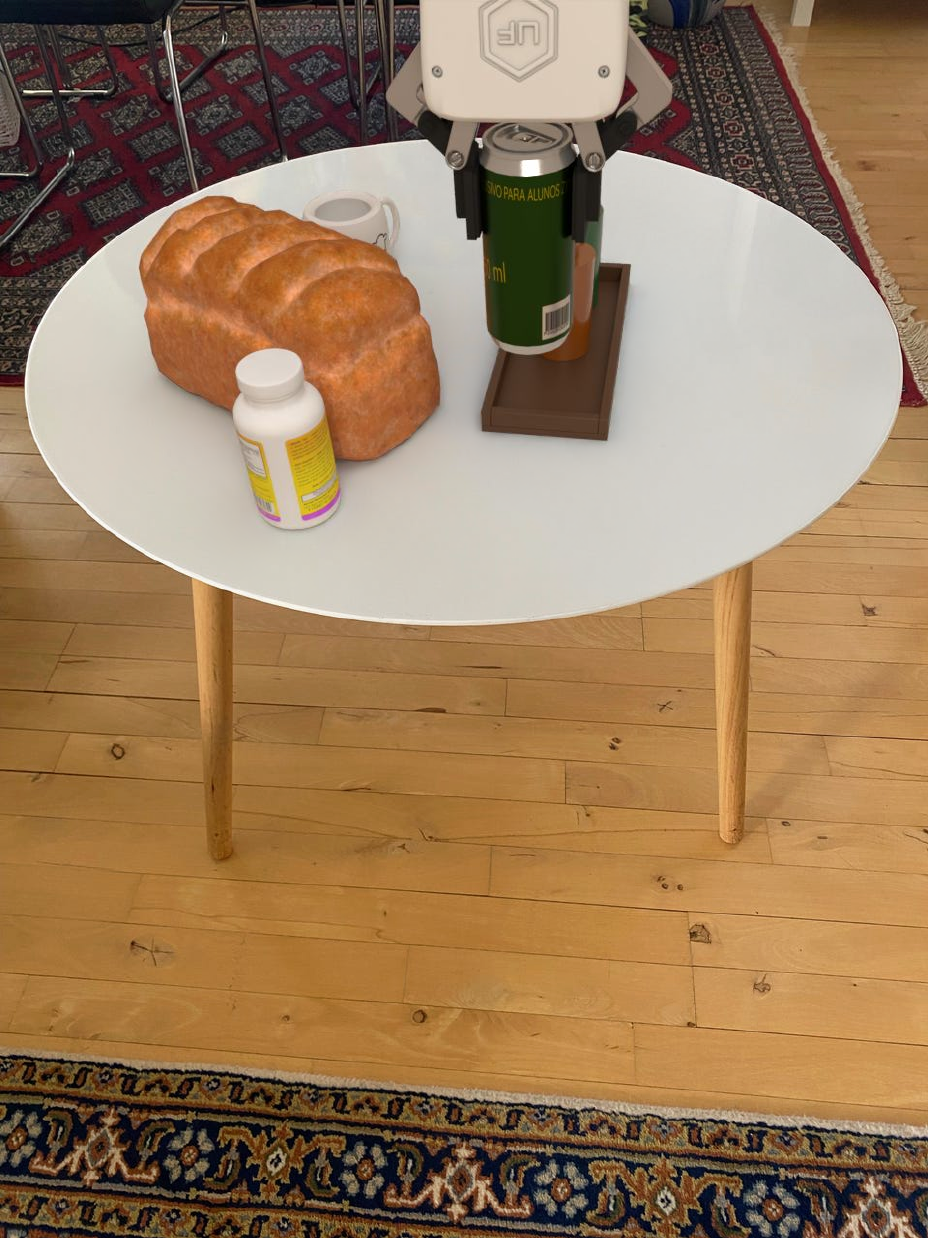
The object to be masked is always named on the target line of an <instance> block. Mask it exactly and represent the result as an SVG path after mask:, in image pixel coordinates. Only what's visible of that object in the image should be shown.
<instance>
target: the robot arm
mask: <svg viewBox="0 0 928 1238" xmlns="http://www.w3.org/2000/svg"><path fill="white" fill-rule="evenodd" d="M419 22H420V23H419V27H420V29H419V31H420V40H419V41H418V43H417V45H416V46H415V47H414V49H413V51H412V52H411V53H410V55H409V57H408V58H407V59H406V61H405V62H404V64H403V65H402V67H401V68H400V70H399V71H398V73H397V74H396V76H395V77H394V79H393V80H392V82H391V83H390V85H389V86H388V88H387V90H386V92H385V99H386V102H387V103H388V104H389V106H391V107H392V108H394V110H395V111H397V112H398V113H399V115H401V116H402V117H403V118H405V119H406V120H407V121H409V123H410V124H413V125H415V126H416V127H417V129H418V131H419V133H420V134H421V135H422V136H423V137H424V138H425V139H426V140H427V141H428V142H429V143H430V144H431V146H433V147H434V148H435V149H436V150H437V151H438V152H439V153H440V154H441V155H442V156H443V157H444V161H445V164H446V165H447V167H448V168H450V169H451V170H452V173H453V187H454V188H453V190H454V203H455V215H456V219H465V229H466V240H467V241H477V240H478V239H480V238H481V237H482V214H481V193H480V171H479V154H480V152H481V149H482V147H480V143H479V142H478V141H477V140H476V138H477V135H478V131H479V128H480V123H563V124H571V129H572V132H573V135H574V138H575V141H576V144H577V148H578V151H579V152H578V153H577V163H576V165H575V169H574V173H573V196H572V240H575V243H584V242H585V236H586V231H587V226H588V221H589V222H599V217H600V206H601V205H602V186H603V185H602V181H603V169H604V168H605V165H606V162H608V161H609V160H610V159H611V158H612V157H613V156H614V155H615V154H616V153H617V152H618V151H619V150H620V149H621V148H622V147H623V146H624V145H625V144H626V143H627V142H628V141H629V140H631V139H632V138H633V137H634V135H635V134H636V133H637V131H638V130H639V129H640V128H641V127H643V126H645V125H646V124H648V123H649V122H650V121H651V120H653V119H654V118H655V117H656V116H658V115H659V114H660V113H661V112H662V111H663V110H664V109H666V108H667V107H668V106H669V105H670V104H671V102H672V99H673V84H672V82H671V80H670V79H669V77H667V75H666V74H665V72H664V71H663V70H662V69H661V67H660V65H659V64H658V62H657V61H656V60H655V59H654V57H653V55H651V53H650V51H649V50H648V49H647V48H646V46H645V45H644V43H643V42H642V40H641V39H640V38H639V37H638V36H637V33H636V32H635V31H634V29H633V28H632V27H631V26H630V0H419ZM626 77H627V79H628V80H629V81H630V82H631V84H632V85H633V86H634V88H635V89H636V91H637V92H636V93H635V94H634V95H633V96H632V97H631V98H630V99H629V100H628V101H627V102H626V103H623V104H621V105H620V106H619V104H620V102H621V99H622V96H623V92H624V87H625V81H626V80H625V79H626ZM607 117H608V118H607ZM605 118H606V119H605Z"/></svg>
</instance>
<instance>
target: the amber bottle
mask: <svg viewBox="0 0 928 1238" xmlns="http://www.w3.org/2000/svg"><path fill="white" fill-rule="evenodd" d="M594 271H595V250H594V248H593V247H592V246H591V245H589V244H588V243H586V242H584V243H575V263H574V304H573V324H572V328H571V330H570V332H569V334H568V336H567V338H566V340H565V341H564V342H563V343H562V344H561V345H560V346H559V347H557V348H555V349H553V350H551V351H548V352H545V353H541V354H539V355H540V356H542V357H544V358H546V359H549V360H553V361H570V360H575V359H578V358H580V357H582V356H584V355H585V354H586V353H587V352H588V351H589V349H590V342H591V324H592V306H593V289H594Z"/></svg>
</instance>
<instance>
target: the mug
mask: <svg viewBox="0 0 928 1238" xmlns="http://www.w3.org/2000/svg"><path fill="white" fill-rule="evenodd" d="M384 205H386V206H388V209H389V210H390V214H391V217H392V230H391V231H392V232H391V236H390V229H389V224H388V218H387V215H386V211H385V208H384ZM400 218H401V217H400V212H399V209H398V207H397V205H396V203H395V202H394V200H393V199H391V198H390V197H388V196H384V197H380V198H378V197H376V195H374V194H371V193H369V192H365V191H360V190H352V189H351V190H337V191H332V192H331V191H330V192H328V193H324V194H321V195H319V196H317V197H315V198H312V200H310V201H309V202H308V203H307V204H306V205H305V207H304V208H303V212H302V216H301V220H302V221H313V222H314V223H316V224H318V225H320V226H322V227H325V228H328V229H332V230H335V231H337V232H339V233H341V234H344V235H346V236H348V237H350V238H352V239H358V240H361V241H364V242H367V243H370V244H373V245H376V246H379V247H380V248H382V249H383V250H384V251H385V252H387V253H388V254H389V255H390V251H391V250H392V249H393V248H394V247H395V245H396V244H397V242H398V239H399V235H400V230H401V229H400V228H401V219H400Z"/></svg>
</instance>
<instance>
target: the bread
mask: <svg viewBox="0 0 928 1238" xmlns="http://www.w3.org/2000/svg"><path fill="white" fill-rule="evenodd" d="M139 259H140V260H139V264H138V271H139V276H140V280H141V284H142V289H143V291H144V294H145V297H146V300H147V301H146V307H145V311H144V314H143V318H144V322H145V326H146V329H147V335H148V340H149V346H150V352H151V355H152V357H153V360H154V362H155V364H156V367H157V370H158V372H159V373H161V374H162V375H164V376H165V377H167V378H168V379H170V380H171V381H172V382H173V383H174V384H176V385H177V386H178V387H180V388H182V389H183V390H185V391H187V392H189V393H192V394H197V395H199V396H201V397H202V398H203V399H204V400H205V401H206V400H207V402H208V403H210V404H213V405H216V406H219V407H222V408H225V409H226V410H228V411H230V413H232V414H233V406H234V403H235V401H236V399H237V397H238V396H239V394H240V393H241V391H240V390H239V388H238V383H237V378H236V373H235V371H236V366H237V365H238V363H239V362H240V361H241V360H242V359H243V358H244V357H246V356H247V355H249V354H251V353H254V352H256V351H260V350H264V349H273V348H278V349H285V350H289V351H292V352H294V353H295V354H297V355H298V356H299V358H300V359H301V362H302V365H303V370H304V375H305V376H304V380H305V381H307V382H309V383H310V384H312V385H313V386H314V387H315V388H316V389H317V390H318V391H319V393H320V394H321V396H322V399H323V403H324V407H325V412H326V417H327V422H328V427H329V433H330V438H331V443H332V448H333V453H334V458H336V459H342V460H347V461H354V462H364V461H370V460H374V459H378V458H380V457H382V456H383V455H384V454H386V453H388V452H389V451H391V450H392V449H395V448H396V447H397V446H398V445H401V444H402V443H404V442H405V441H406V440H408V439H409V438H411V436H412V435H413V434H414V433H415V432H416V430H417V429H419V427H420V426H421V425H422V424H423V423H424V422H425V421H427V420H428V418H429V417H430V416H431V415H432V414H433V413H434V411H436V409H437V408H438V407H439V406H440V402H441V401H440V400H441V378H440V371H439V366H438V359H437V356H436V354H435V350H434V347H433V337H432V331H431V325H430V324H429V323H428V321H427V320H426V319H425V317H424V316H423V315H422V314H421V302H420V301H421V299H420V296H419V293H418V291H417V290H418V289H417V288H416V287H415V286H414V285H413V284H412V283H413V282H411V280H409V278H408V277H406V276H404V275H403V274H402V271H401V268H400V266H399V261H398V260H397V258H395V257H393V256H392V255H391V254H390V253H389V254H388V253H387V252H385V251H384V250H383V249H382V248H380V247H379V246H376V245H373V244H370V243H367V242H364V241H361V240H358V239H352V238H350V237H348V236H346V235H344V234H341V233H339V232H337V231H335V230H332V229H328V228H325V227H322V226H320V225H318V224H316V223H314V222H313V221H302V219H300V218H299V217H296V216H294V215H293V214H291V213H289V212H287V211H285V210H282V209H272V210H264V209H263V208H261V207H259V206H257V205H255V204H251V203H247V202H243V201H242V202H241V201H237V199H235V198H234V197H233V196H227V195H207V196H204V197H202V198H200V199H198V200H196V201H194V202H192V203H189V204H188V205H186V206H184V207H181V208H179V209H177V210H175V211H174V212H173V213H172V214H171V215H170V216H169V217H168V218H167V219H166V220H165V221H164V223H163V224H162V225H161V226H160V228H159V229H158V231H156V233H155V234H154V236H153V237H152V239H151V240H150V241H149V242H148V244H147V245H146V247H145V249H144V250H143V251H142V253H141V256H140V258H139Z"/></svg>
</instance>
